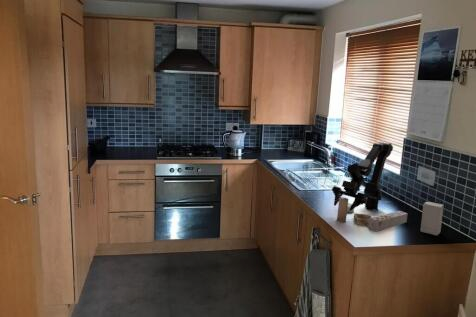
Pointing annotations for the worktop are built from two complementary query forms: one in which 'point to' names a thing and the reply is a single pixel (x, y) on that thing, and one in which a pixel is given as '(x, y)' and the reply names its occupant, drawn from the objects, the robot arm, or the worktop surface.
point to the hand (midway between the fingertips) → (342, 207)
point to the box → (387, 220)
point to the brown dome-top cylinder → (342, 209)
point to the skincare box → (431, 218)
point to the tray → (361, 219)
